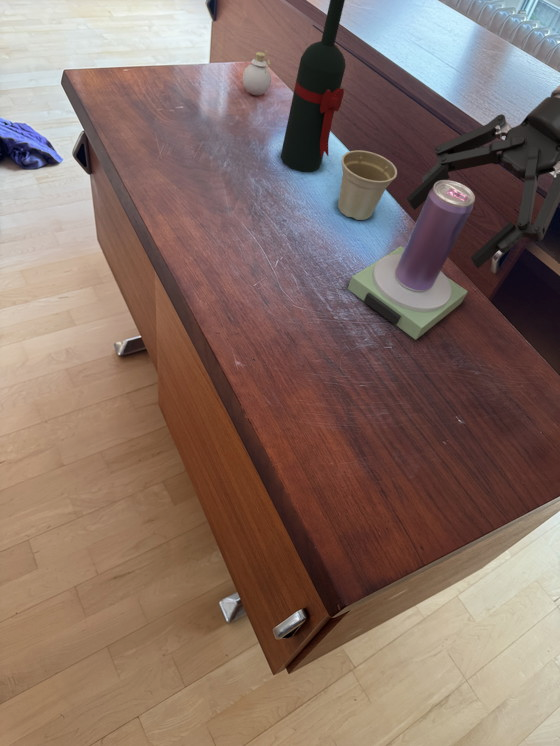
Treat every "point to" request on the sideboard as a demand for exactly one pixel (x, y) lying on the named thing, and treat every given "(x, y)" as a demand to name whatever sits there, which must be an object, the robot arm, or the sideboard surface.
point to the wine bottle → (315, 98)
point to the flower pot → (363, 182)
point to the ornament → (257, 75)
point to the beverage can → (434, 234)
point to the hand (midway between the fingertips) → (440, 232)
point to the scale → (405, 296)
